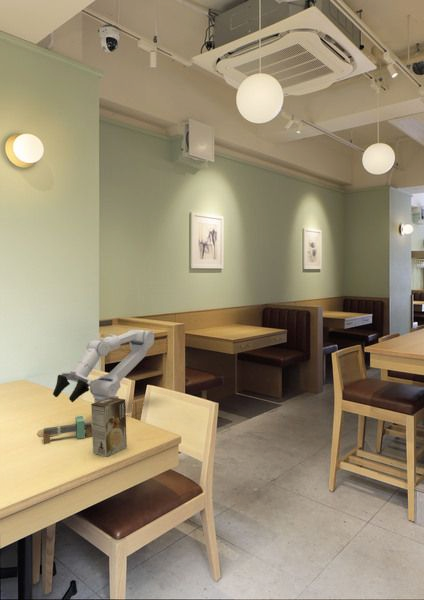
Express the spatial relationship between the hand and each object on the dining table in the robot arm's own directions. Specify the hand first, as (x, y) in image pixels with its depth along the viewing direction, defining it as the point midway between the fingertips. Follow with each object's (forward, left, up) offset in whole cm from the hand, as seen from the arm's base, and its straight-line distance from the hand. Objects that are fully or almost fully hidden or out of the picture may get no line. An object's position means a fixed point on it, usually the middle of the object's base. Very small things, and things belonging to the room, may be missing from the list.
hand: (62, 398), depth 151 cm
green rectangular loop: (-5, +3, -13) cm, 15 cm away
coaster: (+4, -5, -13) cm, 15 cm away
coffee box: (-13, +20, -14) cm, 27 cm away
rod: (-1, +3, -13) cm, 14 cm away
